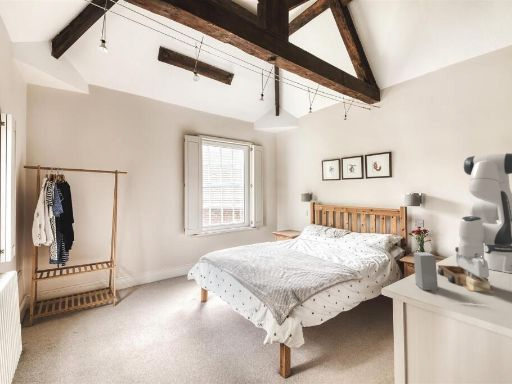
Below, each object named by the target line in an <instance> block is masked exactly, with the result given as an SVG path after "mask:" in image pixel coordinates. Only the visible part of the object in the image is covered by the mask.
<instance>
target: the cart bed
mask: <svg viewBox="0 0 512 384" xmlns="http://www.w3.org/2000/svg"><path fill="white" fill-rule="evenodd" d="M437 266H438V267H437V275H440V276H444V278H446V279H447V281H448V282H449V283H451V284H455V285H456V286H461V287H462V285H466V276H467V273H466V270H465V269H463V268H461V267H459V266H458V265H444V264H438V265H437ZM467 277H468V276H467ZM477 277H478V276H477ZM483 279H485V280H487V281H489V278H483Z"/></svg>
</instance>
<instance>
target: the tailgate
mask: <svg viewBox="0 0 512 384" xmlns="http://www.w3.org/2000/svg"><path fill="white" fill-rule="evenodd" d="M461 287H463V288H464V289H465V290H467V291H469V292H477V293H486V292H485V291H473V290H472V289H470V288H469V287H468V286H466V285H462V286H461ZM487 293H490V294H491V293H492V294H494V293H495V291H494V290H491V289H490V292H487Z"/></svg>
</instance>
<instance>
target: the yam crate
mask: <svg viewBox="0 0 512 384" xmlns="http://www.w3.org/2000/svg"><path fill="white" fill-rule="evenodd" d="M466 286H468V287H469V288H470V289H472V290H473V291H472V292H475V291H485V292H484V293H488V292H490V290H491V282H490V281H489V280H488V281H487V280H485V279H483V278H480V277H467V276H466Z"/></svg>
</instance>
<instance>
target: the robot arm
mask: <svg viewBox="0 0 512 384" xmlns="http://www.w3.org/2000/svg"><path fill="white" fill-rule="evenodd" d="M462 168H463V170H464V173H465V174H466V175H468V176H470V177H469V183H468V184H469V185H468V190H469V193H470V194H471V195H472V196H473V197H475V198H477V199H479V200H480V201H474V202H472V203H471V204H470V205H469V208H468V211H469V214H470V215H469V216H463V217H461V219H460V223H459V233H458V235H459V238H460V240H459V244H458V246H455V247H454V251H455V260H456V264H457V265H456V266H459V267H461V268H463V269H465V270H466V273H467V276H468V277H477V276H478V277H480V278H487V279H489V276H490V270H491V271H498V272H502V273H507V274H512V189H511V185H510V177H509V175H512V153H508V152H506V153H489V154H481V155H476V156H475V155H473V156H472V155H471V156H468V157H467V158H466V159H465V160H464V162H463V165H462ZM497 221H498V222H497Z"/></svg>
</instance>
